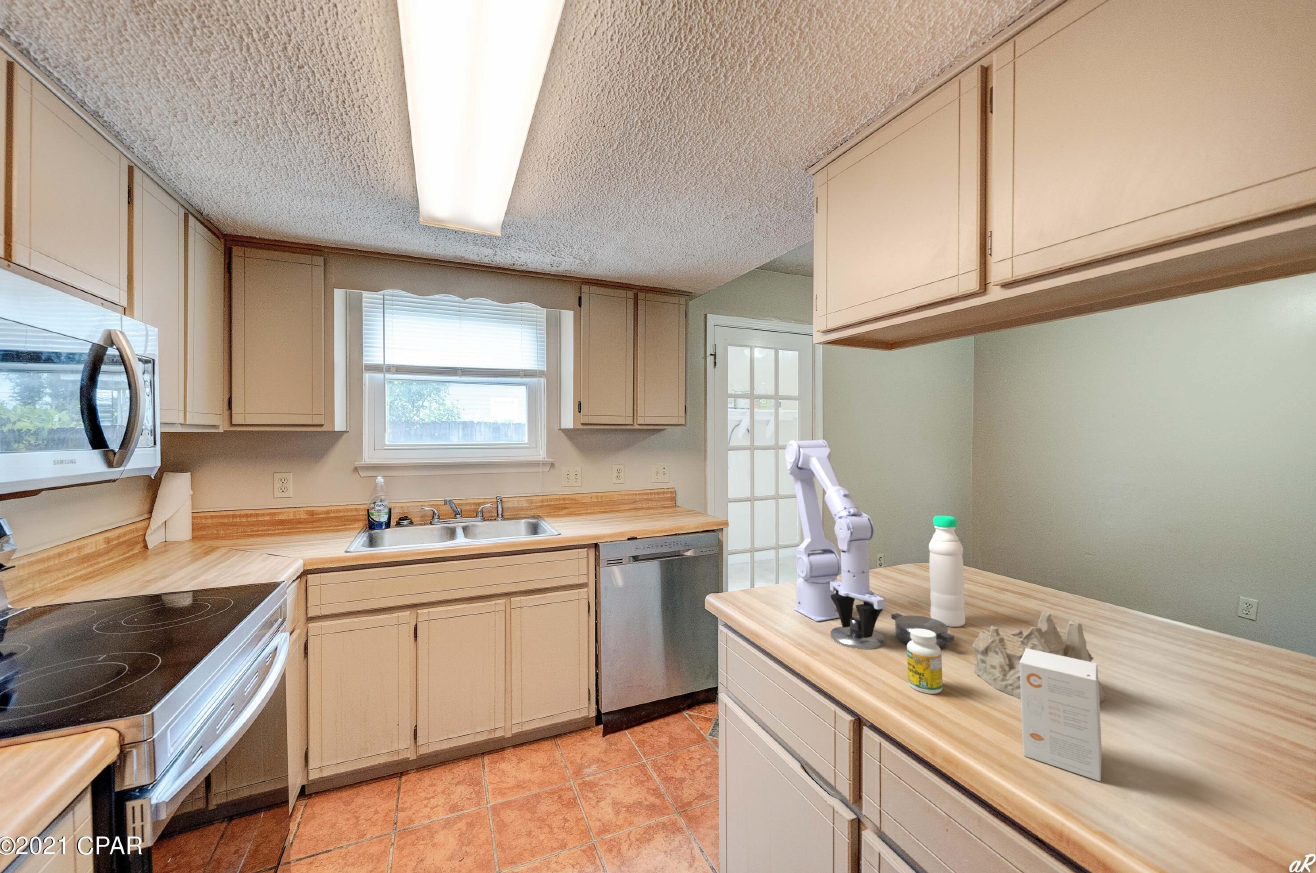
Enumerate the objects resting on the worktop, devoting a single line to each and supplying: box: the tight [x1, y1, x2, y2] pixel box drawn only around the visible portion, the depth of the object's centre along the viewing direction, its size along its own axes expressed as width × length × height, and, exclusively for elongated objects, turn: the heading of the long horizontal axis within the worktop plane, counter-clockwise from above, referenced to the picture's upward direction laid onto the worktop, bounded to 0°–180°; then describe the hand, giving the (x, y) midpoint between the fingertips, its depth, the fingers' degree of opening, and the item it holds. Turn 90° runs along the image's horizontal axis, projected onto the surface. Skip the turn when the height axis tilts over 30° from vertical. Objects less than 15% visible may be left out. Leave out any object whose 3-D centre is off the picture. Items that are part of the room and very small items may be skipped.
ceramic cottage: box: [971, 611, 1106, 703], centre depth 86 cm, size 16×16×15 cm
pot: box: [890, 612, 955, 650], centre depth 105 cm, size 14×10×4 cm
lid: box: [830, 616, 885, 650], centre depth 107 cm, size 11×11×5 cm
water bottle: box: [928, 515, 966, 628], centre depth 115 cm, size 7×7×25 cm
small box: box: [1019, 648, 1103, 782], centre depth 67 cm, size 8×6×13 cm
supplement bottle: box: [906, 629, 944, 695], centre depth 86 cm, size 5×5×10 cm
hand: (856, 631), depth 107 cm, fingers open, 6 cm apart
